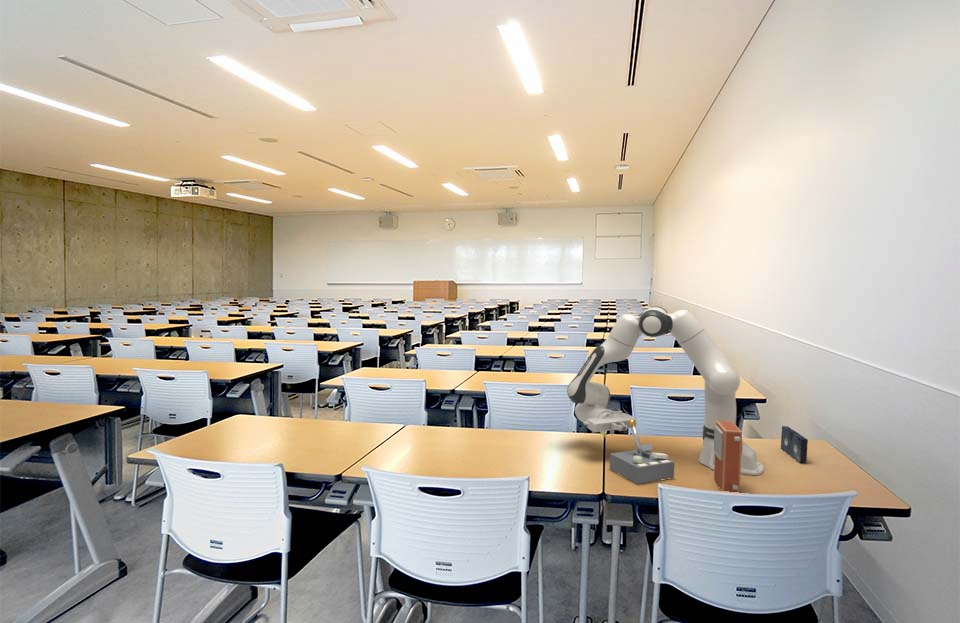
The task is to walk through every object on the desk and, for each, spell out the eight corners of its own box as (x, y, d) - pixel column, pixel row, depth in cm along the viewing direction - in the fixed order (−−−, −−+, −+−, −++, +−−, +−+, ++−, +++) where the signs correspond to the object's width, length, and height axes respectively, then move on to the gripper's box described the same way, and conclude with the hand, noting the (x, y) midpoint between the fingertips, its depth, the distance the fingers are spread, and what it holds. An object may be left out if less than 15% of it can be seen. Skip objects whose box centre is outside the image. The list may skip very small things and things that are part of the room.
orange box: (731, 479, 190) (743, 496, 175) (710, 478, 191) (720, 494, 177) (733, 420, 188) (745, 432, 174) (712, 419, 190) (722, 431, 175)
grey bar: (639, 451, 200) (637, 445, 201) (651, 449, 202) (649, 444, 203) (640, 451, 199) (639, 445, 200) (652, 449, 201) (651, 443, 202)
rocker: (651, 455, 193) (652, 452, 193) (662, 456, 195) (663, 453, 195) (656, 458, 190) (657, 454, 190) (667, 458, 192) (668, 455, 192)
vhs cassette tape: (806, 464, 206) (808, 439, 206) (798, 464, 207) (799, 438, 206) (788, 449, 224) (789, 426, 224) (780, 449, 225) (781, 425, 224)
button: (631, 461, 190) (631, 456, 190) (638, 460, 191) (638, 455, 191) (636, 464, 187) (637, 458, 187) (643, 463, 188) (643, 457, 188)
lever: (635, 454, 196) (626, 420, 200) (641, 453, 196) (631, 420, 201) (640, 453, 193) (630, 419, 198) (645, 452, 194) (636, 418, 199)
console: (609, 469, 199) (610, 449, 199) (644, 463, 205) (644, 444, 205) (637, 484, 185) (638, 463, 184) (673, 478, 191) (674, 457, 190)
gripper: (581, 414, 212) (601, 423, 200) (623, 409, 220) (645, 417, 207) (580, 429, 213) (601, 439, 200) (622, 424, 221) (645, 433, 208)
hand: (624, 428), depth 204 cm, fingers closed
